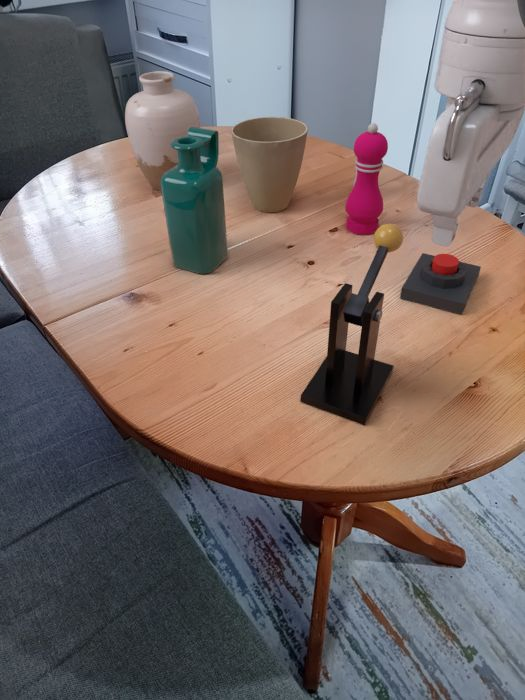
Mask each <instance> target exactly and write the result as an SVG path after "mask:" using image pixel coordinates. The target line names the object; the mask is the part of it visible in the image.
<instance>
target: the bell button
mask: <svg viewBox="0 0 525 700" xmlns="http://www.w3.org/2000/svg"><path fill="white" fill-rule="evenodd" d="M434 256H435V257H434V258H433V263H432V270H433V271H434V272H436V273H438V274H442V275H453V274H455V273H456V272H457V269H458V265H459V261H460V259H459V258H458V257H457V256H455V255H453V254H449V253H439V254H438V253H437V254H435V255H434Z"/></svg>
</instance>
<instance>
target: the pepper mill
mask: <svg viewBox="0 0 525 700" xmlns="http://www.w3.org/2000/svg"><path fill="white" fill-rule="evenodd" d="M388 149H389V143H388V139H387V138H386V136H385V134H383V133H381V132H379V126H378V125H377V123H374V122H372V123H370V124H369V125H368V127H367V131H365V132H362V133H360V134H359V135H358V136H357V138H356V139H355V141H354V144H353V153H354V155H355V157H356V158H355V161H354V162H355V164H354V168H355V170H356V169H357V179H356V183H355V185H354V187H353V186H352V187H353V189H352V188H351V191H350V193H349V194H348V196H347V198H346V201H345V206H344V207H345V208H344V209H345V212H346V214H347V217H346V223H345V227H346V229H347V231H348V232H350V233H352V234H355V235H359V236H367V235H368V236H369V235H371V234H375V232H376V230H377V229H378V228H379V226H380V225H379V223H380V219H379V217H381V215H382V214H383V212H384V200H383V196H382V193H381V190H380V186H379V176H380V171H382V169H383V167H384V166H383V164H384V160H383V159H384V158H385V156H387V154H388Z"/></svg>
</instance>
